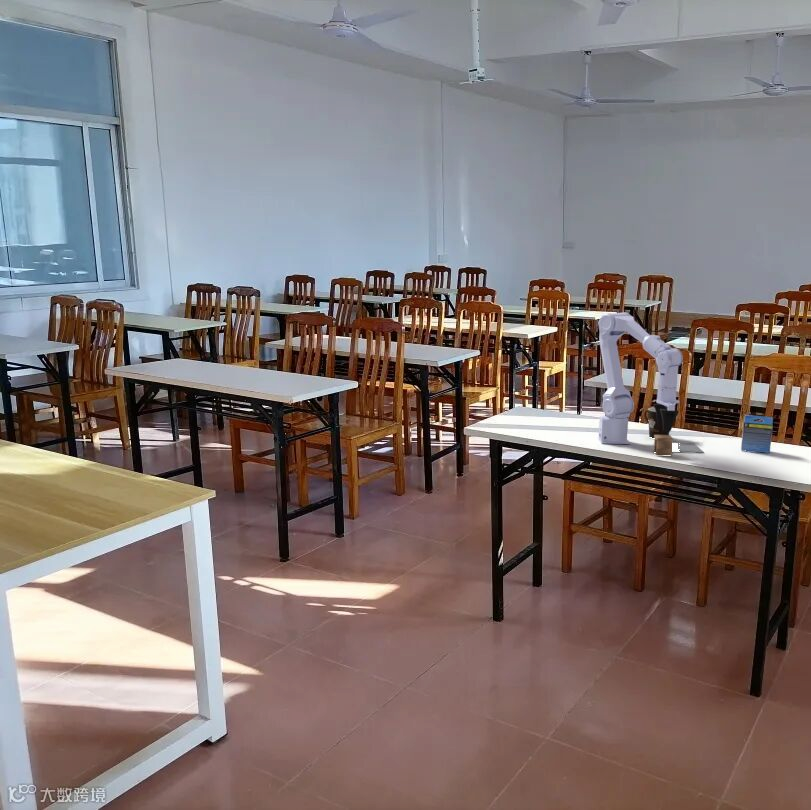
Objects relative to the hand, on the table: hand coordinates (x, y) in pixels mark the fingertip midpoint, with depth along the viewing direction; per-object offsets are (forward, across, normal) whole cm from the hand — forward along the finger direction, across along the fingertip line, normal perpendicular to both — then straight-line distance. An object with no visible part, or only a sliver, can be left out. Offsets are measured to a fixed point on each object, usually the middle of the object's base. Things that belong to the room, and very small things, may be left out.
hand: (664, 428), depth 267 cm
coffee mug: (+9, +25, -4) cm, 27 cm away
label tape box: (+9, +8, -32) cm, 34 cm away
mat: (+9, +9, -8) cm, 15 cm away
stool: (+9, 0, 0) cm, 9 cm away
